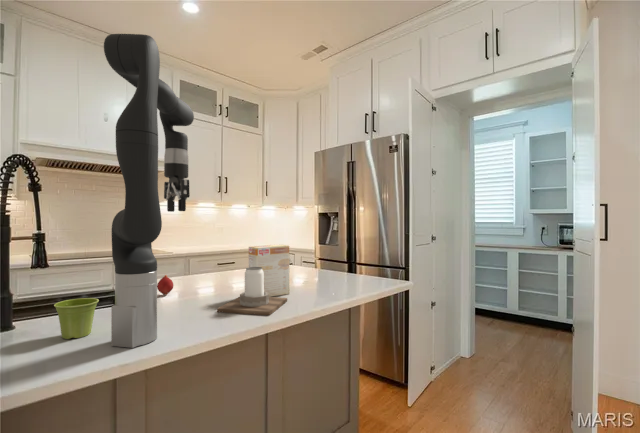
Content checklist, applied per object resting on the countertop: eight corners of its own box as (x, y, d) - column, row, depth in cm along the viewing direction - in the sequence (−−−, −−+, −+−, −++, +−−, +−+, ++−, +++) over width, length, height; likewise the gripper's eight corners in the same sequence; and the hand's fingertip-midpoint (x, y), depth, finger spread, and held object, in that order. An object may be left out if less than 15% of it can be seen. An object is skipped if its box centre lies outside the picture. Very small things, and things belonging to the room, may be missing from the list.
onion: (153, 296, 129) (153, 275, 129) (164, 293, 135) (164, 273, 135) (166, 297, 127) (166, 276, 127) (176, 294, 133) (176, 274, 133)
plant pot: (83, 327, 93) (83, 296, 93) (106, 331, 89) (106, 299, 89) (45, 339, 84) (45, 304, 84) (69, 344, 81) (69, 308, 81)
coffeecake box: (281, 290, 139) (281, 244, 139) (290, 294, 133) (290, 245, 133) (247, 295, 130) (247, 246, 130) (255, 299, 124) (255, 247, 124)
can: (254, 299, 119) (254, 266, 119) (267, 302, 115) (267, 267, 115) (240, 303, 114) (240, 268, 114) (253, 306, 110) (253, 270, 110)
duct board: (269, 315, 104) (269, 302, 104) (217, 312, 108) (217, 299, 108) (287, 301, 122) (287, 289, 122) (241, 298, 125) (241, 287, 125)
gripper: (197, 162, 110) (196, 211, 110) (178, 167, 120) (177, 211, 120) (174, 159, 105) (174, 211, 105) (156, 164, 115) (156, 211, 115)
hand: (176, 211), depth 113 cm, fingers open, 8 cm apart
